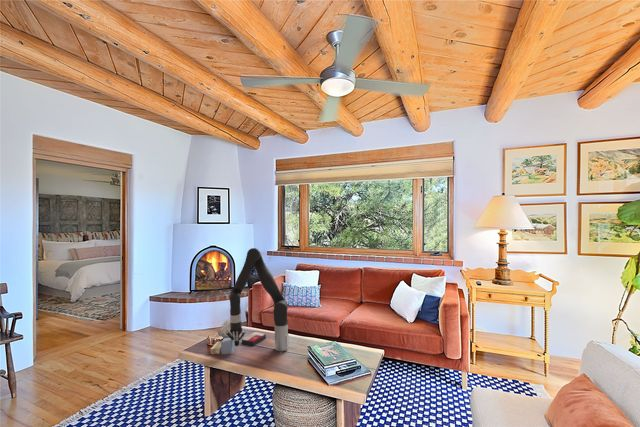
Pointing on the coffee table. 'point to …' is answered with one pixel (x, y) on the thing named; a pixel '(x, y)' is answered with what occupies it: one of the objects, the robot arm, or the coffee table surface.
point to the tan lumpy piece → (216, 348)
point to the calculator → (254, 338)
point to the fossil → (225, 329)
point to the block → (227, 346)
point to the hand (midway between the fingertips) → (236, 345)
